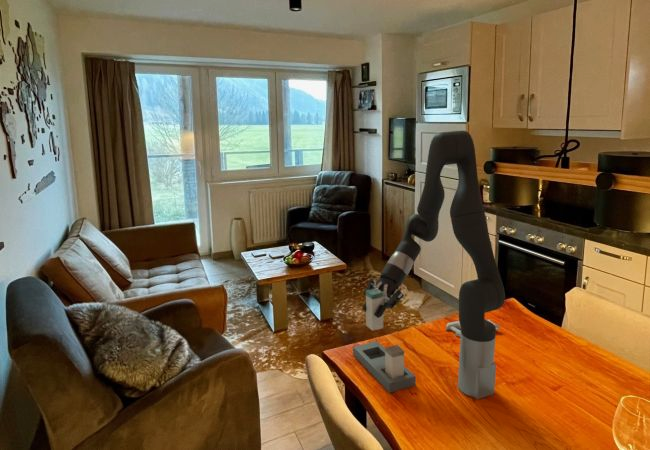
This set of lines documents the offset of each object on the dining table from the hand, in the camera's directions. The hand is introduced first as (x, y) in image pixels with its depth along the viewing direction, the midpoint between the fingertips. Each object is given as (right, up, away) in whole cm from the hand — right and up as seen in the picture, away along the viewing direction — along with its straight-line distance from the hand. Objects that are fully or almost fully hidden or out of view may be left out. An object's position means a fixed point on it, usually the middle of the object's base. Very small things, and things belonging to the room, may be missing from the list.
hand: (370, 313), depth 135 cm
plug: (+2, -5, +2) cm, 6 cm away
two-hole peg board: (+4, -18, +1) cm, 18 cm away
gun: (+40, -12, +24) cm, 48 cm away
